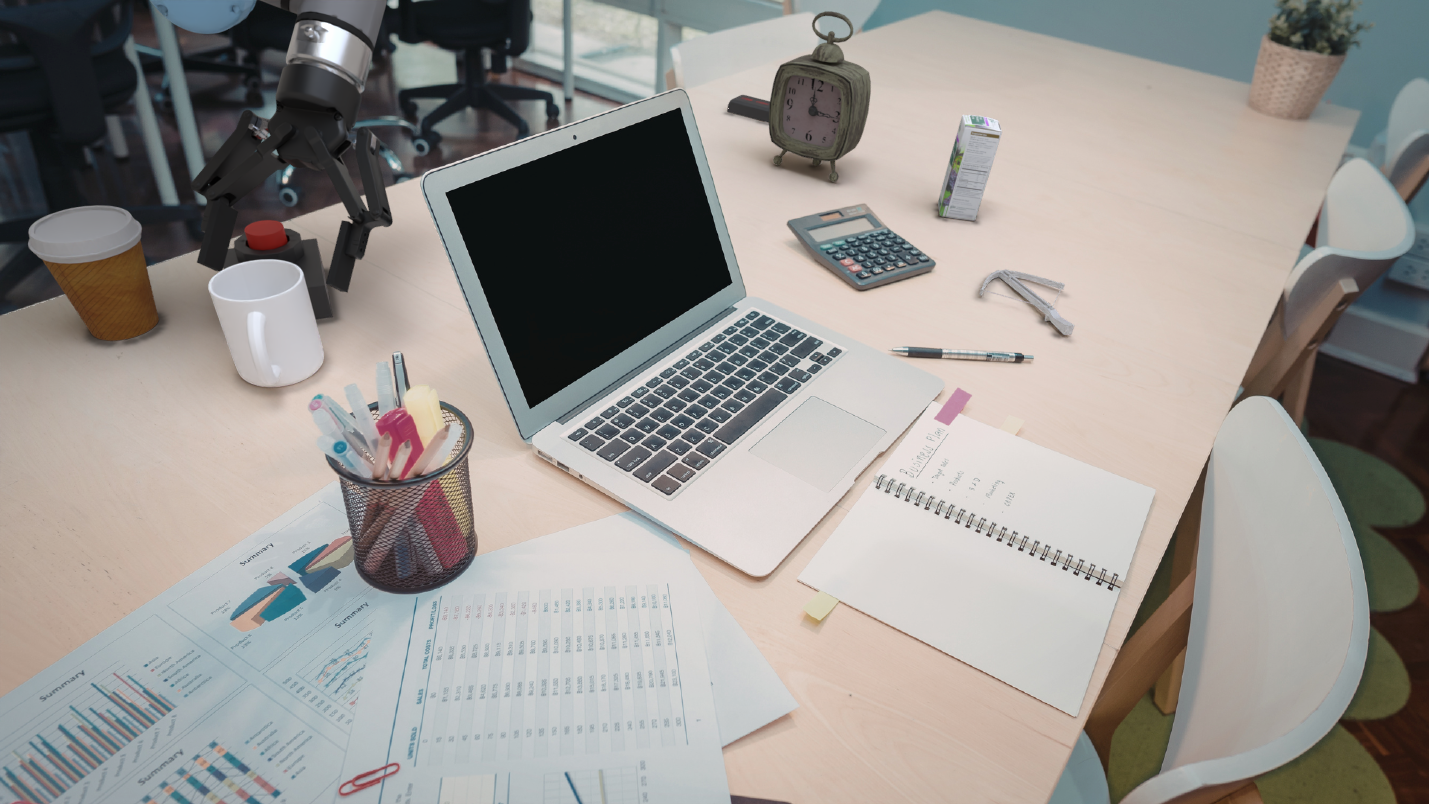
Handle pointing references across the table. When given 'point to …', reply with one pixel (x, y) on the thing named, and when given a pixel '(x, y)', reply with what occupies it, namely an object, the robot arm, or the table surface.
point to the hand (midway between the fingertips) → (272, 278)
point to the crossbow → (1033, 295)
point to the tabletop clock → (819, 102)
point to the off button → (265, 235)
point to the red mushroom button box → (298, 254)
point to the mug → (268, 321)
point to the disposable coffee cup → (99, 268)
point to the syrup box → (969, 167)
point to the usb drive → (750, 107)
